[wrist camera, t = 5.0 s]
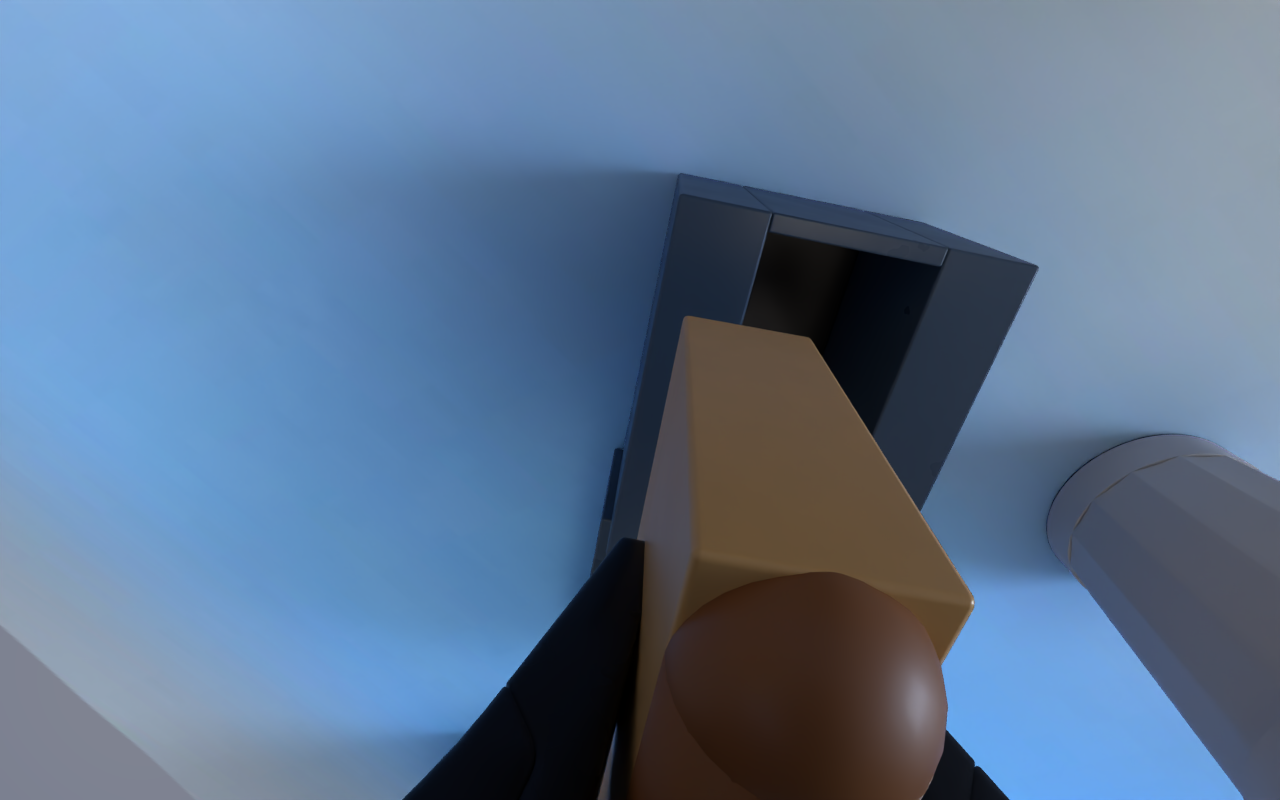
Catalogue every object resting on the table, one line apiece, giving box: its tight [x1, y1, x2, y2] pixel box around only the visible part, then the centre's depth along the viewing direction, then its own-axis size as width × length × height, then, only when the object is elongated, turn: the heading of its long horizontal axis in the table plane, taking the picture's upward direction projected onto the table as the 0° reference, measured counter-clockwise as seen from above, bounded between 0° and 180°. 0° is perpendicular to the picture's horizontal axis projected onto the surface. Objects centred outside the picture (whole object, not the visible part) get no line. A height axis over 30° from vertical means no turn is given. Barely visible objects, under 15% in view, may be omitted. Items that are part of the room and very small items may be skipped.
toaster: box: [606, 173, 1039, 556], centre depth 16 cm, size 9×7×6 cm
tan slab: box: [598, 316, 975, 800], centre depth 7 cm, size 7×2×6 cm, turn 170°
